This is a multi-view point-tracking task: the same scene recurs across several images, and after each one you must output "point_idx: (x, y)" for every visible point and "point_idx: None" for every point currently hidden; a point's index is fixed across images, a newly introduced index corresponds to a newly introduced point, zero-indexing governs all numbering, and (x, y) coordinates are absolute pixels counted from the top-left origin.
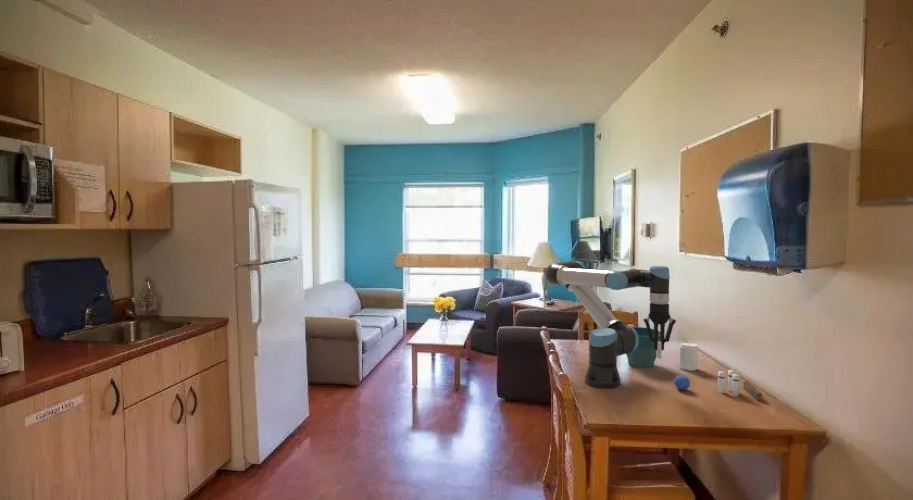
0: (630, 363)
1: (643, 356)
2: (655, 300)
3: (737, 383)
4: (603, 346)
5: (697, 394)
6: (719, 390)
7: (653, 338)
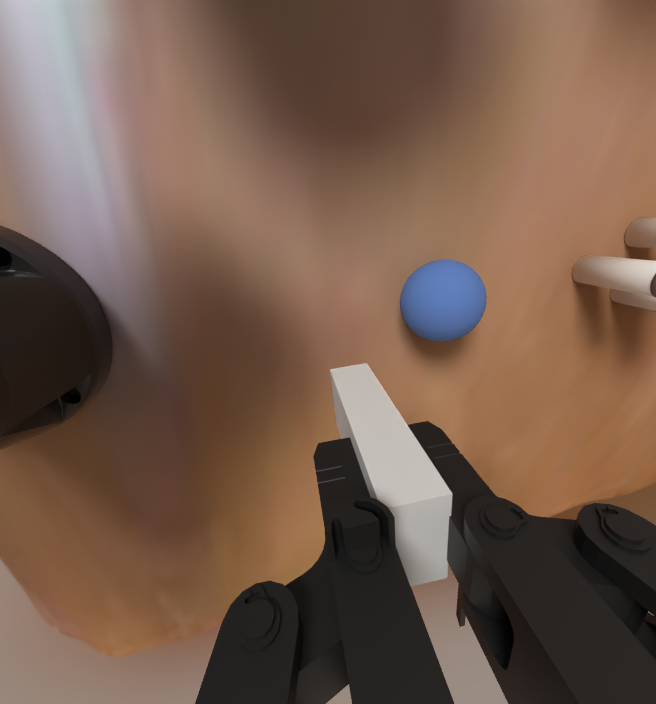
0: None
1: None
2: None
3: None
4: None
5: (472, 334)
6: (583, 280)
7: (328, 687)
